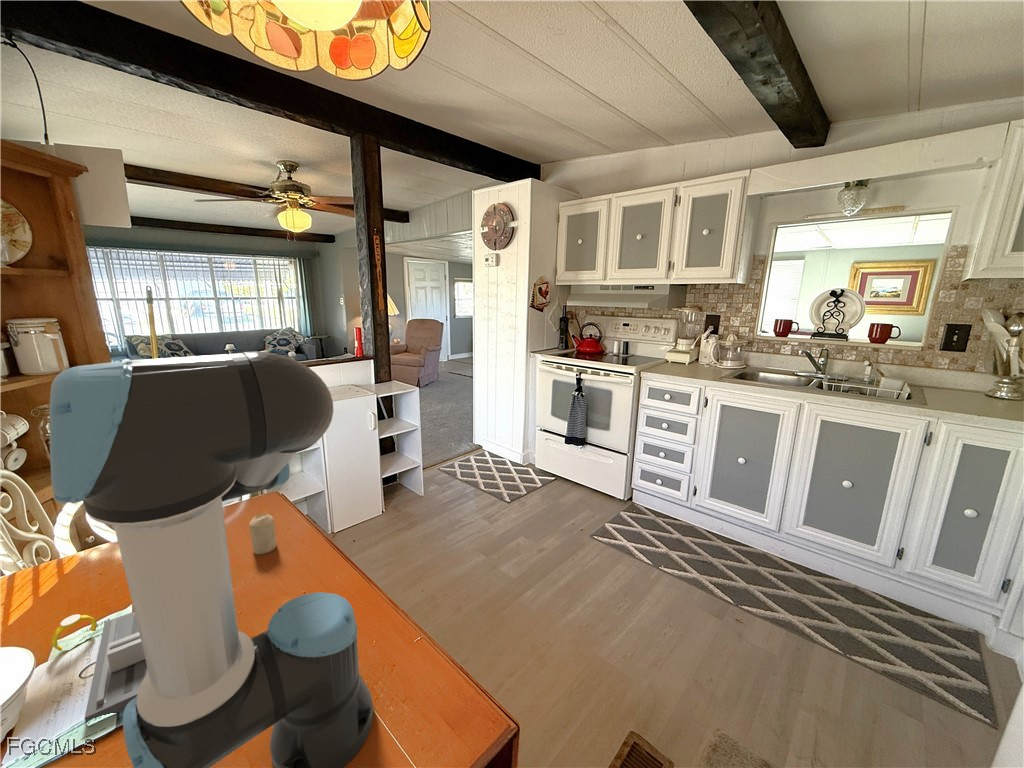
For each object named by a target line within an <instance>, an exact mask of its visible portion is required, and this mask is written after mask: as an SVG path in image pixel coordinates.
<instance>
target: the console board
mask: <svg viewBox="0 0 1024 768" xmlns="http://www.w3.org/2000/svg"><path fill="white" fill-rule="evenodd" d="M138 632H139V629H138V625H137V621H136V617H135V612H134V611H132V612H129V613H126V614H124V615H123V614H122V615H120V616H118V617H116V618H115V617H114V618H112V619H109V620H107V621H104V624H103V629H102V633H101V637H100V644H99V647H98V653H97V657H96V662H95V667H94V671H93V676H92V681H91V685H90V691H89V695H88V699H87V700H88V701H87V704H86V709H85V714H84V721H85V724H86V723H87V722H88V721H89V720H91V719H93V718H96V717H99V716H102V715H106V714H110V713H117V714H119V713H122V712H124V709H125V707H126V705H127V704H128V703H129V702H130V701H131V700H133V699H134V698H136V696H137V694H138V691H139V688H140V685H141V683H142V681H143V679H144V678H145V676H146V675H147V673H148V668H147V664H146V659H144V660H142V661H139V662H137V663H135V664H132V665H130V666H127V667H125V668H122V669H120V670H118V671H115V672H113V673H111V669H110V665H109V661H108V657H107V653H108V647H109V643H111V642H114V641H117V640H119V639H122V638H125V637H127V636H130V635H132V634H135V633H138ZM118 712H119V713H118Z"/></svg>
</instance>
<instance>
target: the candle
mask: <svg viewBox="0 0 1024 768" xmlns="http://www.w3.org/2000/svg"><path fill="white" fill-rule="evenodd" d="M248 524H249V531H250V537H251V538H250V540H251V546H252V552H253V554H256V555H264V554H267V553H270V552H272V551H274V549H276V547H277V538H276V530H275V522H274V517H273V516H272V515H270V514H268V513H267V512H265V513H262V514H255V515H254V517H253V518H252V519H251V521H250V522H249V523H248Z"/></svg>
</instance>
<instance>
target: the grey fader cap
mask: <svg viewBox="0 0 1024 768" xmlns="http://www.w3.org/2000/svg"><path fill="white" fill-rule="evenodd" d="M107 657H108V661H109V665H110V669H111V673H113V672H115V671H118V670H120V669H122V668H125V667H127V666H130V665H132V664H135V663H137V662H139V661H142V660H144V659H145V655H144V651H143V647H142V642H141V638H140V634H139V632H138V633H135V634H132V635H130V636H127V637H125V638H122V639H119V640H117V641H114V642H111V643H109V647H108V653H107Z"/></svg>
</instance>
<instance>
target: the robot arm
mask: <svg viewBox="0 0 1024 768" xmlns="http://www.w3.org/2000/svg"><path fill="white" fill-rule="evenodd" d="M50 386H51V387H50V393H49V395H50V397H49V459H50V460H49V461H50V462H49V463H50V477H51V478H50V479H51V489H52V490H51V491H52V492H53V493H52V494H53V500H54V501H55V502H57V503H59V504H66V503H70V504H78V503H80V502H82V501H83V502H82V503H83V506H84V509H85V512H86V513H87V515H88V517H90V518H91V520H94V521H95V522H98V523H101V524H105V525H111V526H114V532H115V535H116V540H117V544H118V548H119V552H120V557H121V561H122V564H123V565H122V566H123V569H124V573H125V576H126V577H125V578H126V581H127V582H126V583H127V586H128V591H129V594H130V599H131V603H132V608H133V612H135V617H136V621H137V625H138V629H139V634H140V638H141V642H142V647H143V651H144V655H145V659H146V664H147V668H148V673H147V675H146V676H145V678H144V679H143V681H142V683H141V685H140V688H139V691H138V694H137V696H136V698H134V699H133V700H131V701H130V702H129V703H128V704H127V705H126V707H125V709H124V711H123V715H122V728H123V729H122V730H123V737H124V742H125V746H126V750H127V751H126V752H127V755H128V757H129V759H130V762H131V765H132V768H211V767H213V766H214V765H215V764H217V763H219V762H220V761H222V760H223V759H224V758H226V757H227V756H229V755H231V754H232V753H233V752H235V751H236V750H238V749H239V748H241V747H242V746H244V745H246V744H247V743H248V742H250V741H251V740H253V739H254V738H255V737H257V736H258V735H260V734H261V733H263V732H264V731H266V730H268V729H269V728H271V727H272V726H273V727H272V730H271V734H270V739H269V740H270V741H269V747H270V749H269V750H270V756H271V761H272V765H273V768H345V766H346V765H348V764H349V763H350V762H351V760H353V758H354V757H355V756H356V755H357V754H358V753H359V751H360V750H361V749H362V747H363V745H364V744H365V742H366V740H367V738H368V736H369V734H370V732H371V731H370V730H371V728H372V725H373V721H374V720H373V718H374V707H373V705H374V704H373V699H372V694H371V691H370V689H369V687H368V686H367V684H366V683H365V681H364V679H363V677H362V676H361V674H360V667H359V652H358V649H359V648H358V625H357V622H356V618H355V613H354V608H353V606H352V605H351V603H350V602H349V600H348V599H346V598H345V597H343V596H341V595H339V594H336V593H333V592H332V593H331V592H329V593H328V592H325V591H322V592H320V591H317V592H310V593H306V594H303V595H299V596H297V597H295V598H292V599H291V600H289V601H287V602H284V604H283V605H281V606H280V607H279V608H278V609H277V612H275V613H274V614H273V615H272V616H271V618H270V620H269V623H268V626H267V629H266V630H264V631H263V632H261V633H259V634H256V635H255V636H253V637H251V638H250V636H248V634H246V633H244V632H243V631H240V630H239V628H238V620H237V614H236V613H237V612H236V605H235V598H234V589H233V588H234V587H233V581H232V572H231V564H230V557H229V548H228V546H229V545H228V541H227V539H228V538H227V532H226V524H225V523H226V522H225V515H224V509H223V508H224V507H223V502H226V501H229V500H231V499H235V498H239V497H243V496H246V495H250V494H254V493H258V492H260V491H265V490H270V489H273V488H275V487H279V486H280V485H283V484H285V483H287V482H288V480H289V478H290V473H291V469H290V468H291V467H290V463H289V462H290V461H291V460H292V459H293V458H294V457H295V455H296V454H297V453H300V452H302V451H306V450H307V449H309V448H311V447H312V446H314V445H315V444H316V443H317V442H318V441H319V440H320V439H322V437H323V436H324V434H325V433H327V430H328V428H329V427H330V426H331V423H332V421H333V414H334V402H333V401H334V400H333V398H332V395H331V391H330V390H329V387H328V385H326V383H325V382H324V380H323V379H322V378H321V377H320V376H319V375H318V374H317V373H316V372H315V371H314V370H312V368H310V367H308V366H307V365H305V364H304V363H301V362H299V361H297V360H296V359H294V358H292V357H289V356H285V355H282V354H278V353H275V352H265V351H256V350H255V351H242V352H237V353H223V354H222V353H221V354H210V355H209V354H207V355H193V356H191V355H190V356H178V357H164V358H163V357H162V358H159V357H158V358H146V359H130V358H124V359H121V360H119V361H114V362H113V361H112V362H103V363H94V364H84V365H77V366H73V367H70V368H67V369H64V370H62V371H61V372H59V373H58V374H57V375H56V376H55V377H54V379H53V381H52V383H51V385H50Z"/></svg>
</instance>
